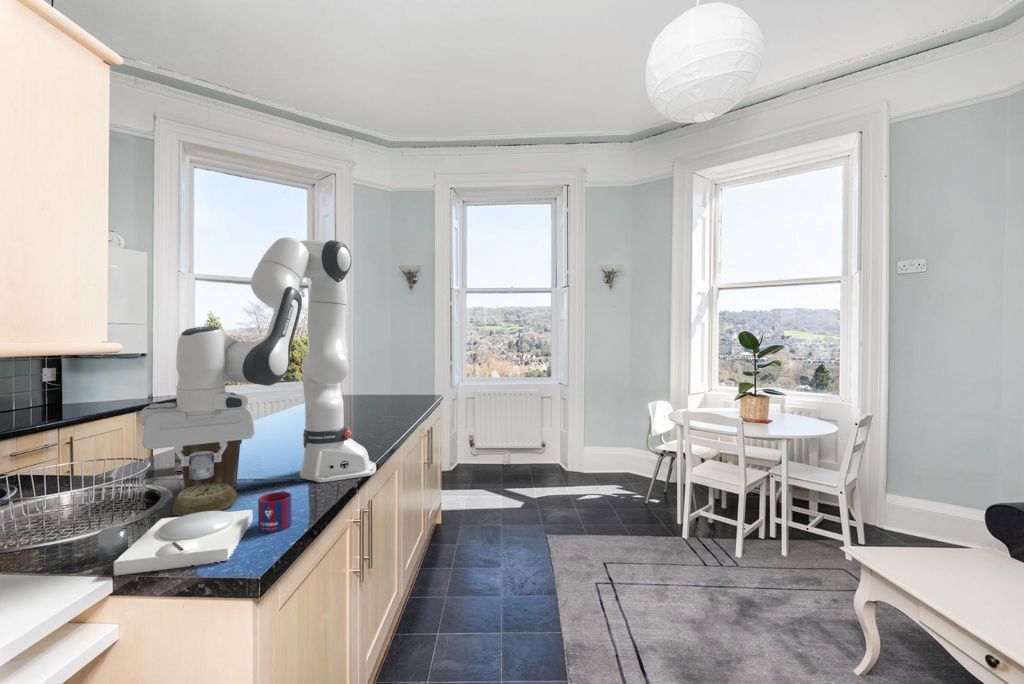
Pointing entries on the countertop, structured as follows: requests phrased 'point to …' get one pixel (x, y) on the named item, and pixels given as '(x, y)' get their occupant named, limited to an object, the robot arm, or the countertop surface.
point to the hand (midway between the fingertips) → (201, 463)
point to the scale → (185, 541)
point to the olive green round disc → (204, 499)
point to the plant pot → (222, 470)
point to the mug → (275, 512)
